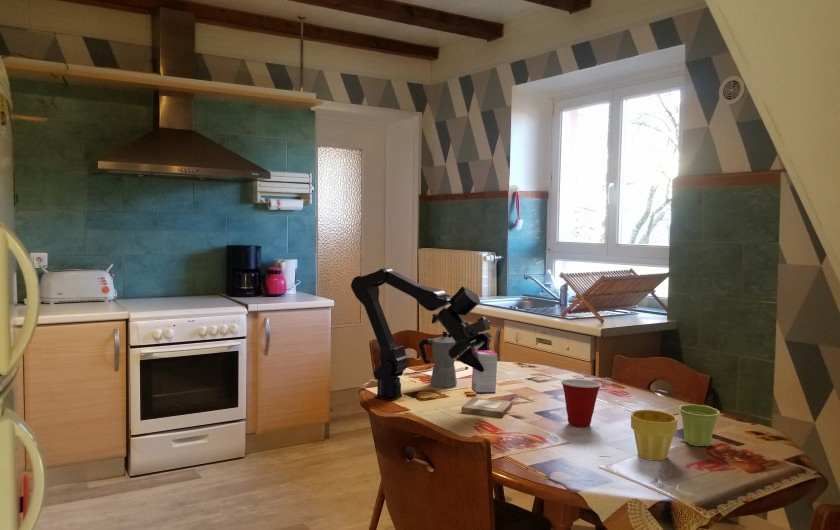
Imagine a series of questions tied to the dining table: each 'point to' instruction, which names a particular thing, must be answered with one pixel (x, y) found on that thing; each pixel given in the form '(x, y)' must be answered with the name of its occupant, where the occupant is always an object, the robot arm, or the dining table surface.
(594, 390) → the plastic cup
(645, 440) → the plant pot
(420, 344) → the coffeepot
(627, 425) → the dining table surface
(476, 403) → the base board
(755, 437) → the dining table surface
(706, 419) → the plant pot
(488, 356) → the supplement box
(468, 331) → the robot arm
